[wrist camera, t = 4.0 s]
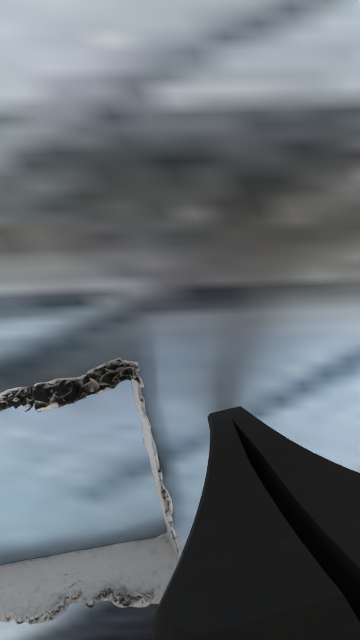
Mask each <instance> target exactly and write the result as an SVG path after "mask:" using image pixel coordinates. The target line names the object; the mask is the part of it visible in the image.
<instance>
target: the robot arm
mask: <svg viewBox="0 0 360 640" xmlns="http://www.w3.org/2000/svg"><path fill="white" fill-rule="evenodd" d="M208 422H209V427H210V451H209V459H208V466H207V473H206V478H205V483H204V487H203V491H202V496H201V499H200V503H199V506H198V510H197V513H196V516H195V519H194V523H193V525H192V528H191V531H190V534H189V536H188V539H187V541H186V544H185V547H184V549H183V552H182V554H181V557H180V559H179V562H178V564H177V566H176V569H175V571H174V573H173V575H172V577H171V579H170V581H169V583H168V586H167V588H166V590H165V592H164V594H163V596H162V598H161V600H160V603H159V605H158V607H157V610H156V615H155V620H154V625H153V630H152V636H151V640H360V473H358V472H356V471H353V470H350V469H348V468H346V467H343V466H341V465H339V464H336V463H334V462H332V461H330V460H328V459H326V458H323V457H321V456H319V455H317V454H315V453H313V452H311V451H309V450H307V449H305V448H303V447H302V446H300V445H298V444H296V443H295V442H293V441H291V440H289V439H288V438H286V437H284V436H283V435H281V434H280V433H278V432H277V431H275V430H273V429H272V428H270V427H269V426H267V425H266V424H264V423H263V422H262V421H260V420H259V419H257V418H256V417H255V416H253V415H252V414H250V413H249V412H248V411H246V410H245V409H243V408H242V407H241V406H239V407H235V408H231V409H227V410H223V411H218V412H214V413H210V414H209V416H208Z"/></svg>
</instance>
